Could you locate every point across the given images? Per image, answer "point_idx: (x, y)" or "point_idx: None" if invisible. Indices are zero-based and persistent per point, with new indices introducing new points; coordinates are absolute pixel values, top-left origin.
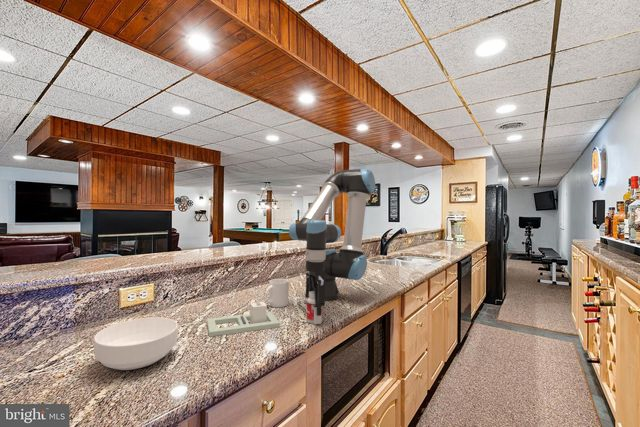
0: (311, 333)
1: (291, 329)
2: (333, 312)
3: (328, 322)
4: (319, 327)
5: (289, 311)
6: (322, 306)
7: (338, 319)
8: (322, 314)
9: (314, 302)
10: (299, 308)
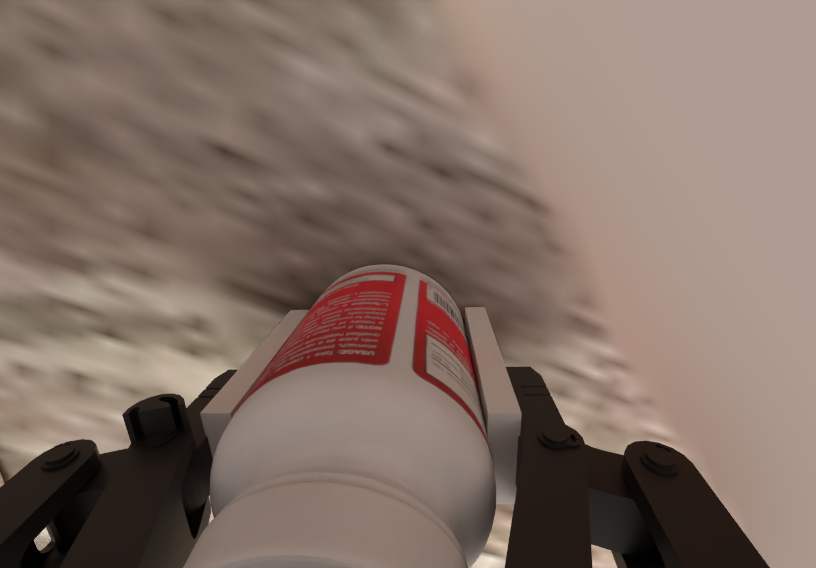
0: (628, 441)
1: (492, 531)
2: (177, 20)
3: (464, 218)
4: (545, 344)
5: (108, 443)
6: (438, 351)
7: (419, 65)
8: (423, 294)
9: (481, 551)
10: (27, 344)
